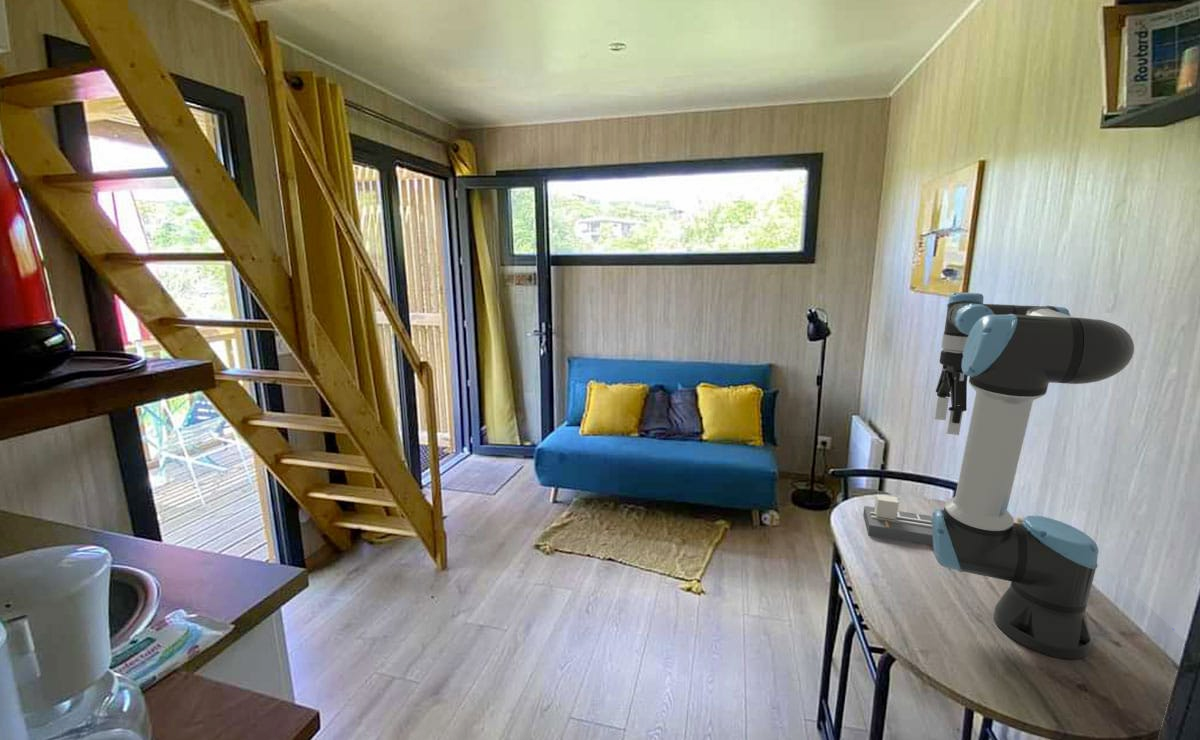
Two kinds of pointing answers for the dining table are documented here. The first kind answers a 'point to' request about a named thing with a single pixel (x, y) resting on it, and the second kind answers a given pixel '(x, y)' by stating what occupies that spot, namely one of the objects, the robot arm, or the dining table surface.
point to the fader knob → (886, 506)
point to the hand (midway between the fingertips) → (945, 426)
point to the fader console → (900, 526)
